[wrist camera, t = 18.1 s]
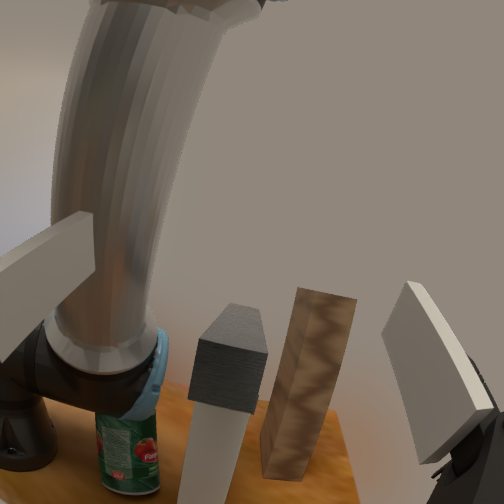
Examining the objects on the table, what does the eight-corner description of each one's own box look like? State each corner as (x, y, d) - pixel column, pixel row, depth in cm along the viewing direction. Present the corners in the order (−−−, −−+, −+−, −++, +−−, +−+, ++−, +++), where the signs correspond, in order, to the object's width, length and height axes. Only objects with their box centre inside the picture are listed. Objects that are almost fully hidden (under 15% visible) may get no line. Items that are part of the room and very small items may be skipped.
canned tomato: (167, 494, 25) (162, 415, 29) (103, 494, 22) (94, 411, 25) (153, 472, 32) (149, 403, 36) (99, 470, 28) (93, 399, 32)
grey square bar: (187, 399, 16) (199, 338, 16) (224, 331, 40) (230, 302, 40) (252, 414, 16) (268, 353, 16) (252, 337, 40) (259, 309, 40)
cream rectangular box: (174, 519, 23) (203, 361, 24) (190, 468, 35) (217, 335, 36) (225, 529, 23) (271, 375, 24) (230, 476, 35) (264, 345, 36)
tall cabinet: (262, 478, 36) (315, 291, 38) (259, 436, 50) (297, 287, 52) (306, 481, 36) (364, 300, 38) (294, 441, 49) (335, 294, 52)
